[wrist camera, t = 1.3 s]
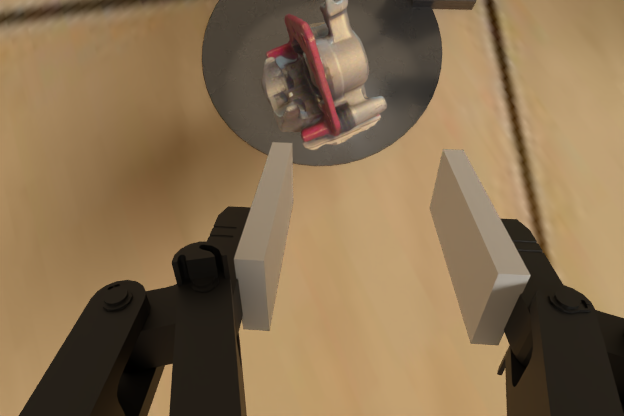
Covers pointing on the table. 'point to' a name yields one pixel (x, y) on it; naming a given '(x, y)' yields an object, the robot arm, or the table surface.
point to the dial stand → (444, 4)
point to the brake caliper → (321, 80)
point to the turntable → (306, 5)
